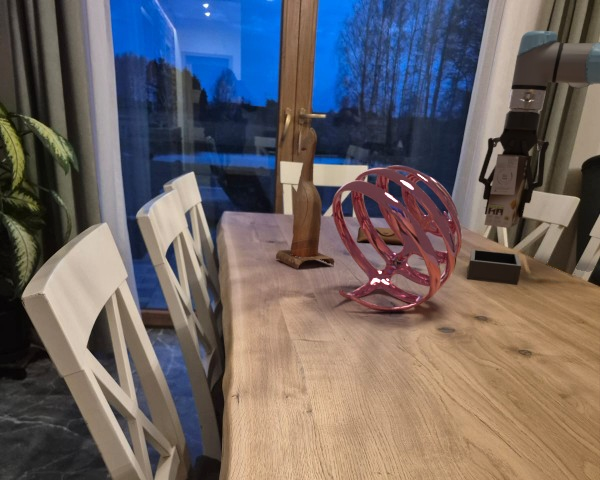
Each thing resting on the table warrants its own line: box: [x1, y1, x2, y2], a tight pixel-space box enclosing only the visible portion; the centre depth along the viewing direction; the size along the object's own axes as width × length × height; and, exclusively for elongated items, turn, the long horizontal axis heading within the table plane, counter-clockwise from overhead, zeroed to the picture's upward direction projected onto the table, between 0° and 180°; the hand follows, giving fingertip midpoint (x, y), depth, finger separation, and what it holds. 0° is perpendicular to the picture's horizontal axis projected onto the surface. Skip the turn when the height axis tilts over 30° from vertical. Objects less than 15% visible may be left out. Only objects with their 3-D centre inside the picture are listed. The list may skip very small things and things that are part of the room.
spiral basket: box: [331, 164, 463, 313], centre depth 114 cm, size 28×28×27 cm
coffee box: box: [484, 153, 533, 229], centre depth 139 cm, size 9×6×16 cm
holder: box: [466, 248, 522, 285], centre depth 147 cm, size 12×15×5 cm
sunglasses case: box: [356, 226, 403, 246], centre depth 181 cm, size 18×7×7 cm
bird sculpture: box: [275, 127, 335, 270], centre depth 142 cm, size 11×12×32 cm
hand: (503, 215), depth 141 cm, fingers closed on coffee box, 7 cm apart
